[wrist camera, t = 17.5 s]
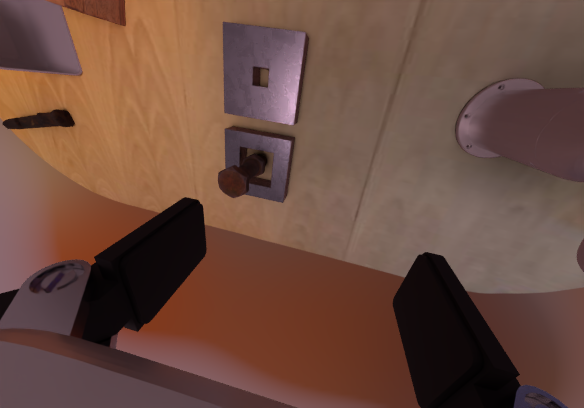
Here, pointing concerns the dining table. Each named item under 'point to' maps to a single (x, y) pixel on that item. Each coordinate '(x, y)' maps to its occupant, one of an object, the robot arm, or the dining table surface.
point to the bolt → (241, 175)
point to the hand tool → (41, 120)
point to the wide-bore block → (264, 141)
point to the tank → (36, 38)
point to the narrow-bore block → (266, 55)
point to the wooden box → (97, 8)
